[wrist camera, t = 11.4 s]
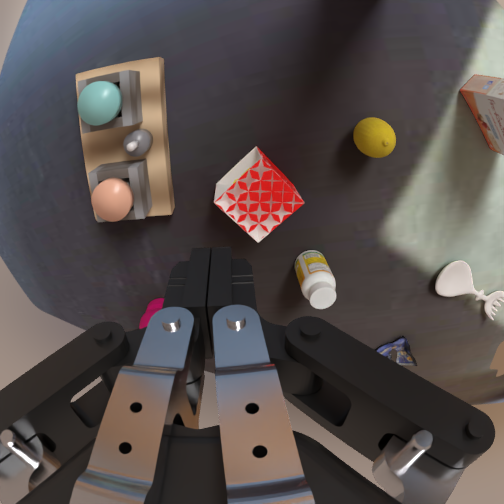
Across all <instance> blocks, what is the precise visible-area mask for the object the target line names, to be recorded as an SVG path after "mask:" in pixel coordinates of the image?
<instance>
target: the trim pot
mask: <svg viewBox="0 0 504 504" xmlns="http://www.w3.org/2000/svg"><path fill="white" fill-rule="evenodd" d="M152 144H153V136H152V134H151V132H150V131H148V130H147V129H138V130H135V131H133V132H131V133H129V134H128V135H127V136H126V137H125V139H124V143H123V146H124V150H125V151H126V153H127V154H129V155H130V156H133V157H137V156H140V155H142V154H144V153H145V152H146V151H147V150H149V149H150V148H151V146H152Z"/></svg>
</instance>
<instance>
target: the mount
mask: <svg viewBox="0 0 504 504" xmlns="http://www.w3.org/2000/svg"><path fill="white" fill-rule="evenodd" d="M97 81H109V82H112V83H114V84H115V85H116V86H118V88H120V91H121V93H122V98H123V103H122V107H121V108H122V111H120V112H119V114H118V115H117V116H116V117H115V118H114V119H113V120H112V121H110V122H108V123H105V124H102V125H97V126H95V125H90V124H87V123H86V122H84V121H83V120H82V118H81V117H80V115H79V122H80V130H81V139H82V146H83V153H84V160H85V166H86V172H87V178H88V183H89V189H90V194H91V199H92V193H93V191H94V189H95V188H96V187H97V186H98V185H99V184H100V183H101V182H102V181H104V180H105V179H107V178H111V177H115V178H120V179H121V178H129V179H130V186H131V189H132V191H133V195H134V202H133V206H132V208H131V209H130V211H129V212H128V214H127V215H126V216H125V217H124V218H123V219H121V220H133V219H145V217H146V216H160V215H172V213H173V210H174V208H175V203H174V194H173V185H172V175H171V165H170V154H169V143H168V130H167V115H166V99H165V78H164V59H162V58H160V57H156V58H149V59H143V60H137V61H132V62H126V63H121V64H116V65H112V66H107V67H103V68H98V69H94V70H90V71H86V72H82V73H79V74H76V86H77V100H78V99H79V96H80V94H81V92H82V91H83V89H84V88H85V87H86V86H88V85H89V84H91V83H93V82H97ZM138 129H147V130H148V131H150V132H151V134H152V136H153V144H152V146H151V148H150V149H149V150H147V151H146V152H145V153H144V154H142V155H140V156H137V157H133V156H130V155H129V154H127V153H126V151H125V150H124V146H123V143H124V139H125V137H126V136H127V135H128V134H129V133H131V132H133V131H135V130H138ZM94 213H95V218H96V220H97V221H98V222H108V221H106V220H104V219H102V218H101V217H99V216H98V215H97V213H96V212H95V211H94ZM119 221H120V220H119Z"/></svg>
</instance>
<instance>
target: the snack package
mask: <svg viewBox="0 0 504 504" xmlns="http://www.w3.org/2000/svg"><path fill="white" fill-rule="evenodd" d="M392 348H394V349H395V350H396V351H397V353H398V355H397V361H396V363H398V364H399V365H412V366H417V363H416V360H415V359H414V357H413V355H412V354H411V353H410V345H409V344H408V341H407V339H406V338H405V337H404V336H402V337H400V339H398V340H397V341H395V342H393V343H386V344H384V345H381V346H379V347H378V348H377V349H376V350H375V351H377V352H379V353H380V354H382V355H384V356H385V357H387V358H389V359H391V358H392V357H391V354H388V353H389V352H390V351H391V350H392ZM386 350H387V351H386Z"/></svg>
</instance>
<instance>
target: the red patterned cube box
mask: <svg viewBox="0 0 504 504" xmlns="http://www.w3.org/2000/svg"><path fill="white" fill-rule="evenodd" d="M214 203H215V204H216V205H217V206H218V207H219V208H220V209H221V210H222V211H223V212H225V213H226V214H227V215H228V216H229V217H230V218H231V219H232V220H234V221H235V222H236V223H237V224H238V225H239V226H240V227H241V228H242V229H243V230H245V231H246V232H247V233H248V234H249V235H250V236H251V237H252V238H253V239H254V240H255V241H256V242H258V243H259V242H260V241H261V240H262V239H263V238H264V237H266V236H267V235H268V234H269V233H270V232H271V231H273V230H274V229H275V228H276V227H277V226H278V225H279V224H281V223H282V222H283V221H284V220H285V219H286V218H288V217H289V216H290V215H291V214H292V213H293V212H295V211H296V210H297V209H298V208H299V207H300V206H302V205H303V204H304V201H303V200H302V198H301V196H300V195H299V193H298V192H297V190H296V188H295V186H294V185H293V184H292V183H291V182H290V181H289V179H288V178H287V177H286V176H285V175H284V174H283V173H282V172H281V171H280V170H279V169H278V168H277V167H276V166H275V165H274V164H273V163H272V162H271V161H270V160H269V159H268V157H267V156H266V155H265V154H264V153H263V152H262V151H261V150H260V149H259V148H258V147H257V146H256V147H255V148H254V149H253V150H251V151H250V152H249V153H248V154H247V155H246V156H245V157H244V158H243V159H242V160H241V161H240V162H239V163H238V164H236V165H235V166H234V167H233V168H232V169H231V170H230V171H229V172H228V173H227V174H226V175H225V176H224V177H223V178H222V179H221V180H220V181H219V182H218V183H216V189H215V196H214Z"/></svg>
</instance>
